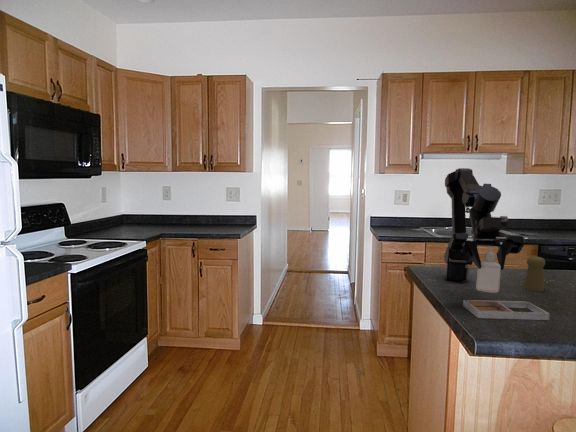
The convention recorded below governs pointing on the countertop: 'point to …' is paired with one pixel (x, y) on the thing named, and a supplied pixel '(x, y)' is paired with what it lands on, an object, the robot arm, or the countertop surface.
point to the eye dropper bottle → (489, 274)
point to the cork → (534, 274)
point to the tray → (504, 310)
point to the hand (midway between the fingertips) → (491, 268)
